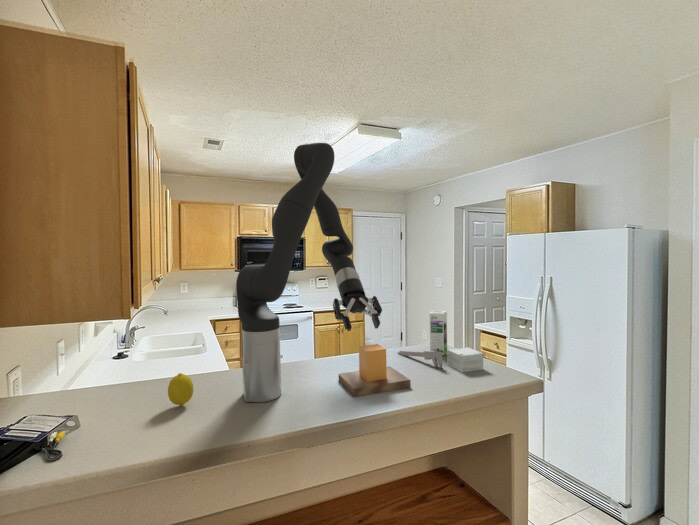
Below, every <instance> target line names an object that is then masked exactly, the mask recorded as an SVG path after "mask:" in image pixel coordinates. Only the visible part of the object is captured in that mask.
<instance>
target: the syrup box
mask: <svg viewBox="0 0 699 525" xmlns="http://www.w3.org/2000/svg"><path fill="white" fill-rule="evenodd" d="M447 315H448V312H447V310H430V312H429V351H434V348H439V351H440V352H441V354H442V356H447V350H448V316H447Z"/></svg>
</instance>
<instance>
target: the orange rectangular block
mask: <svg viewBox="0 0 699 525" xmlns="http://www.w3.org/2000/svg"><path fill="white" fill-rule="evenodd" d="M358 366H359V367H358V368H359V369H358V371H359V375H360V376H361V377H362V378H364V379H365V380H366V381H367V382H368V381H375V380H381V379H387V371H386V367H387V349H386V348H385V347H384V346H382V345H381V344H378V343H374V344H365V345H360V346H358Z"/></svg>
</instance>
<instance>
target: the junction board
mask: <svg viewBox="0 0 699 525" xmlns="http://www.w3.org/2000/svg"><path fill="white" fill-rule="evenodd" d="M386 371H387V379H381V380H375V381H368V382H367V381H366V380H365V379H364V378H362V377H361V376H360V375H359V370H356V371H348V372H343V373H342V372H341V373H338V382H339V381H340V382H339V383H340V384H341V385H342V386H343V387H344V388H345V389H346V390H347V391H348V392H349V393H350V395H352V397H354V398H357V397H361V396H367V395H373V394H379V393H385V392H391V391H396V390H403V389H407V388H411V387H412V386H411V384H412V383H411V379H410V378H409V377H408V376H406V375H404V374H403V373H401V372H399V371H397V369H394V368H393V367H391V365H390V366H386Z"/></svg>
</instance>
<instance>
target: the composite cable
mask: <svg viewBox="0 0 699 525" xmlns="http://www.w3.org/2000/svg"><path fill="white" fill-rule="evenodd" d="M65 435H66V430H63V431H60V432H59V433H58V432H57V431H56V432H54V433H52V434H51V436H50V435H49V436H50V439H49V445H48V446H47V447H45V448H43V447H42V450H41V452H40V453H43V454H45V460H46V461H47V462H50V463H51V462H57V461H59V460H61V459H62V458H63V457H62V456H64V455H63V451H62V450H60V449H56V448H55V446H57V444H58V443H59V442H60V441H62V440H63V439H64V437H65ZM56 443H57V444H56ZM54 448H55V449H54ZM53 454H54V455H53ZM50 455H53V456H55V457H50ZM56 455H58V456H56ZM61 457H62V458H61ZM60 458H61V459H60ZM56 460H57V461H56Z"/></svg>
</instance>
